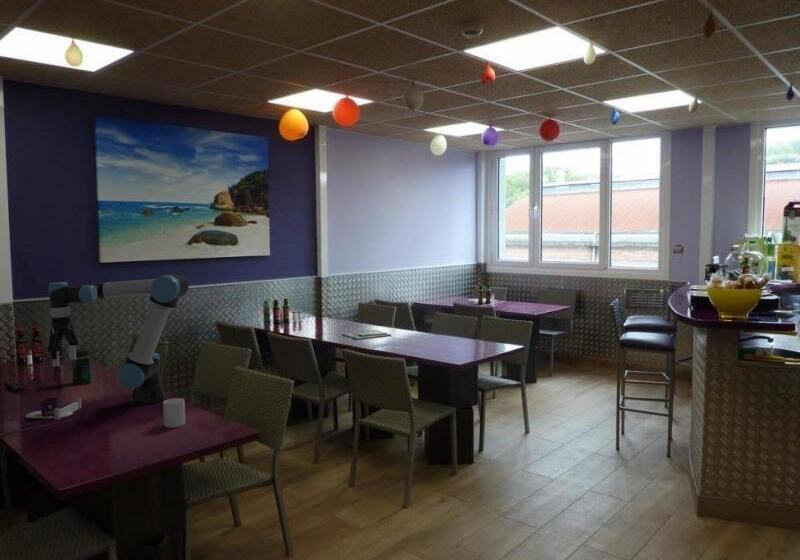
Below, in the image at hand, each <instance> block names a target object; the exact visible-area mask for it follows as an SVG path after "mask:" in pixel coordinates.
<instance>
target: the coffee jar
mask: <svg viewBox="0 0 800 560" xmlns="http://www.w3.org/2000/svg"><path fill="white" fill-rule="evenodd" d="M75 349H76V360H72V361H71V362H72V382H73V384H75V385H87V384H90V383H91V382H92V375H91V354H90V353H91V352H90V350H88V349H84V348H75Z"/></svg>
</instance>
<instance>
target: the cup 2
mask: <svg viewBox="0 0 800 560" xmlns="http://www.w3.org/2000/svg"><path fill="white" fill-rule="evenodd" d="M185 405H186V404H185V399H184V398H180V397H179V398H178V397H177V398H169V399H165V400H163V401H162V406H163V425H164V427H166V428H168V429H169V428H170V429H171V428H172V429H173V428H179V427H180V428H181V427H182V426H184V425H185V423H186V409H185V408H186V407H185Z"/></svg>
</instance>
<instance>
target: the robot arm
mask: <svg viewBox="0 0 800 560" xmlns="http://www.w3.org/2000/svg"><path fill="white" fill-rule="evenodd" d="M188 290H189V282H188V279H187V278H186V277H185V276H184V275H182V274H179V273H170V274H163V275H161V276H158V277H157V278H149V279H136V280H135V279H134V280H122V281H109V282H93V283H89V284H83V285H68V282H66V281H58V282H57V281H55V282H50V283H49V284H48V295H49V296H48V297H49V305H50V316H51V319H50V321H51V326H52V327H54V328H51V329H50V336H49V341H48V346H47V352H48V353H51V361H52V363H51V364H52V367H61V366H60V365H61V364H60V354H59V348H60V347H59V346H60V343H61V341H62V339H63V338H64V339H65V340H66V341H67V343H68V356H69V361H71V360H76V349H77V348H76V346H78V344H79V340H78V338H77V335H76V334H75V333H76V332H75V330H74V326H73V324H72V321H71V316H70V315H71V311H70V304H72V303H75V304H76V303H91V302H95V301H96V300H102V299H116V298H130V297H143V296H144V297H145V296H150V297H149V302H150V303H151V304H150V307H149V309H148V311H147V315H146V316H145V320H144V322H143V325H142V328H141V329H140V332H139V335H138V337H137V339H136V342H135V344H134V348H133V349H132V352H130V353H127V356H126V358H125V360H124V362H123V365H121V366H120V367H119V368H118V370H117V373H116V376H117V380H118V383H119V384H120V385H121V386H123V387H125V388H127V389H132V392H131V396H130V403H131V404H133V405H139V406H142V405H143V406H144V405H153V404H158V403H161V402H164V401H165V400H166V393H165V391H164V388H163V386H162V383H161V382H162V381H161V358H160V354H159V353H158V352H155V351H156V348H157V346H158V343H159V340H160V338H161V335H162V333H163V330H164V328H165V325H166V322H167V320H168V317H169V315H170V312H171V311H172V310H174V309H175V308H176V307H177V304H178V302H179V299H180V298H183V297H184V296H185V295H186V294H187V293H188Z"/></svg>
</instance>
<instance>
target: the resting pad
mask: <svg viewBox="0 0 800 560" xmlns="http://www.w3.org/2000/svg"><path fill="white" fill-rule="evenodd" d="M73 414H74V411H73V412H70V413H68V414H66V415H64V416H62V418H66V417H70V416H72V415H73ZM25 418H27V419H54V416H49V417H43V416H42V415H41V410H39V411H38V410H37V411H33V412H30V413H27V414H25Z"/></svg>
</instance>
